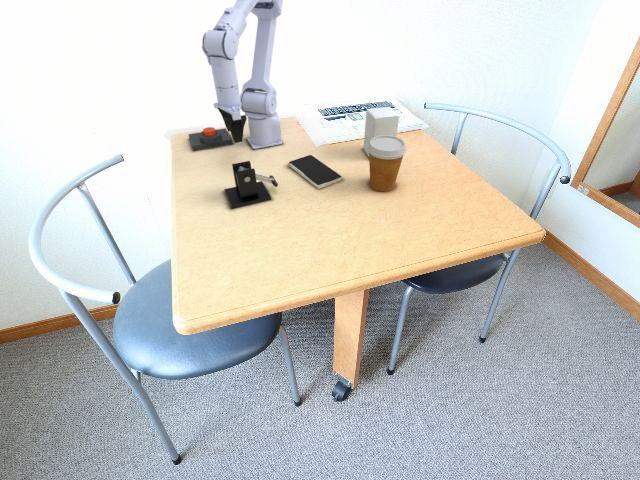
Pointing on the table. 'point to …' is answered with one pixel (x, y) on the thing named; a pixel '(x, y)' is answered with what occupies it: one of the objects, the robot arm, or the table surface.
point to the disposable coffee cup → (385, 161)
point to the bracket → (246, 187)
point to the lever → (262, 177)
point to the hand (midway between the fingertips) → (234, 136)
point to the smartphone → (315, 171)
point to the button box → (210, 140)
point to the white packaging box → (380, 124)
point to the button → (209, 131)
